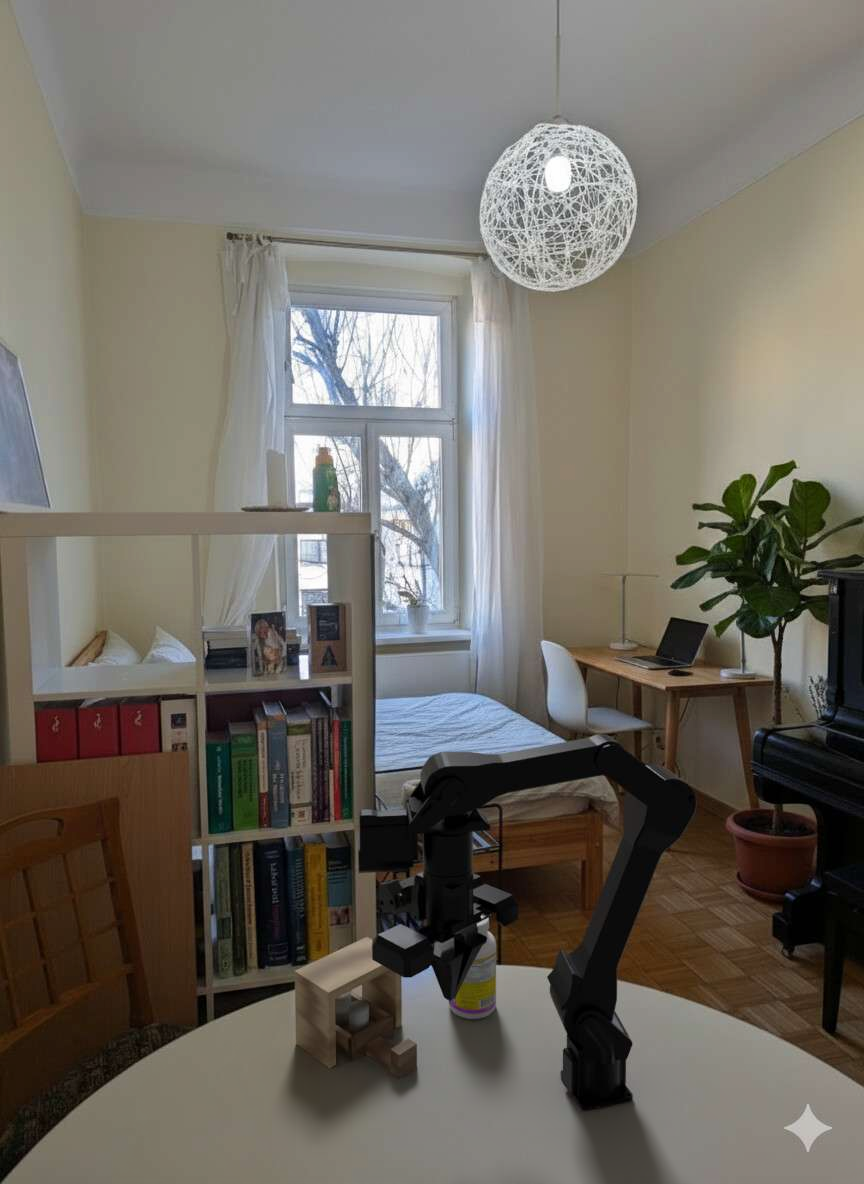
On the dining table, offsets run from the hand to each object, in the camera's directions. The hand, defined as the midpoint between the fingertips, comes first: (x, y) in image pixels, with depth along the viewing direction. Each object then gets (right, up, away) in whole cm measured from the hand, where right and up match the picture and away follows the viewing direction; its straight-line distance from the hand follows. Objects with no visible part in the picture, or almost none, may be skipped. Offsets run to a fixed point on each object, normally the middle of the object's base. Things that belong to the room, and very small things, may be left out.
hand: (449, 998), depth 92 cm
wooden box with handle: (-11, -12, +11) cm, 19 cm away
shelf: (-13, -11, +13) cm, 22 cm away
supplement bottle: (+4, -11, +19) cm, 22 cm away
